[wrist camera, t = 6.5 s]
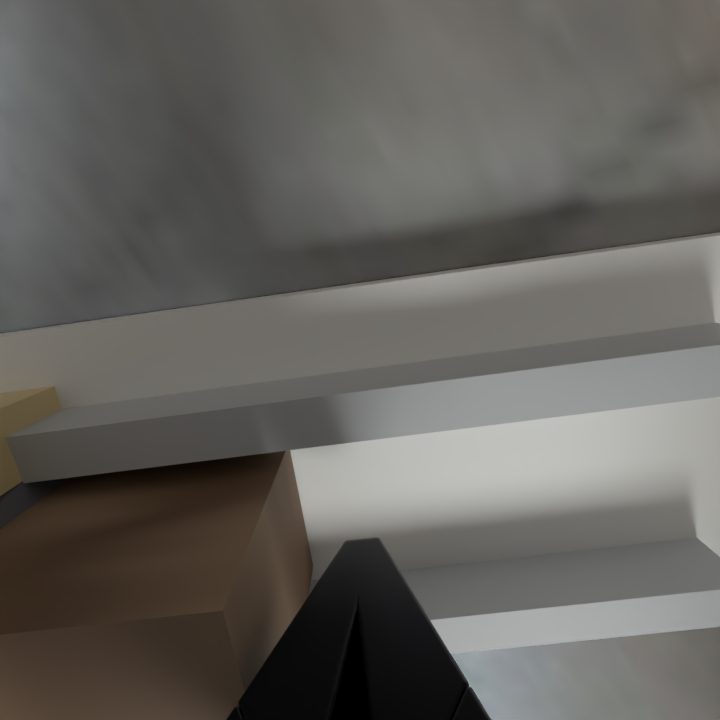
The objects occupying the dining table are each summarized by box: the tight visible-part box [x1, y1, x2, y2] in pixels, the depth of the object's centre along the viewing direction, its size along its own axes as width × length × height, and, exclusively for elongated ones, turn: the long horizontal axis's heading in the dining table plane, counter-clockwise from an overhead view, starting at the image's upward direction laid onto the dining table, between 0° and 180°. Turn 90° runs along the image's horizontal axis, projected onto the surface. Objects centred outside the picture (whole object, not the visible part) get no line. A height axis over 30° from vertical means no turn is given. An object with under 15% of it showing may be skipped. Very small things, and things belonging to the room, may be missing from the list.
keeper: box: [0, 450, 313, 720], centre depth 8 cm, size 5×3×4 cm
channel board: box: [0, 232, 720, 654], centre depth 8 cm, size 22×10×5 cm, turn 98°
